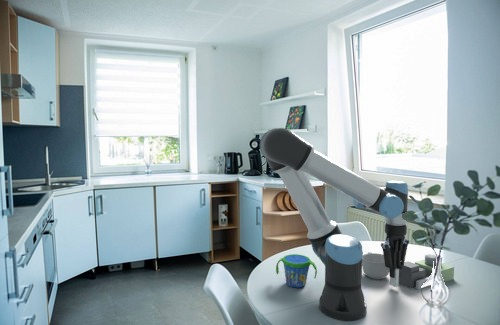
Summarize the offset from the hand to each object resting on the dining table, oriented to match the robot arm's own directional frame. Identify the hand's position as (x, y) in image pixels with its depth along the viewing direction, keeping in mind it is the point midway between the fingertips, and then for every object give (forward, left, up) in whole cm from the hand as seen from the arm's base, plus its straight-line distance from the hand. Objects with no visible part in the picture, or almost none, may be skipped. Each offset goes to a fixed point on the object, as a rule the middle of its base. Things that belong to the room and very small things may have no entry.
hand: (394, 285), depth 130 cm
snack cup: (-30, +21, -2) cm, 36 cm away
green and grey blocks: (+18, 0, -2) cm, 18 cm away
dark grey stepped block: (+10, 0, -2) cm, 10 cm away
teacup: (+4, +13, -2) cm, 14 cm away
